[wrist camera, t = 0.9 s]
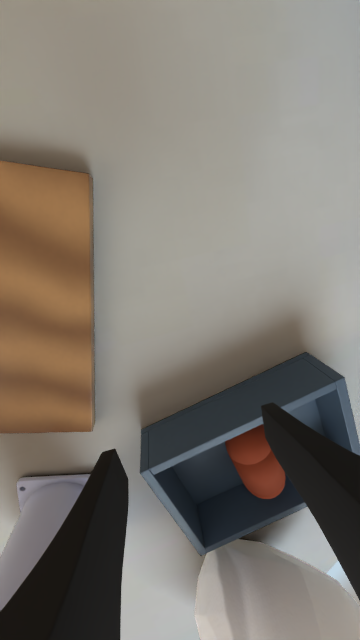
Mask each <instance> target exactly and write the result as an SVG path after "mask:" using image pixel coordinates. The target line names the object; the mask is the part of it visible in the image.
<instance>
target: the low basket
mask: <svg viewBox="0 0 360 640" xmlns="http://www.w3.org/2000/svg"><path fill="white" fill-rule="evenodd" d="M272 402H273V403H275V404H276V405H278V406H279V407H281V408H282V409H283V410H285V411H286V412H288V413H289V414H291V415H292V416H293V417H295V418H296V419H298V420H299V421H301V422H302V423H304V424H305V425H307V426H309V427H310V428H312V429H313V430H315V431H316V432H318V433H320V434H321V435H323V436H325V437H326V438H328V439H330V440H331V441H333V442H335V443H337V444H338V445H340V446H342V447H344V448H346V449H347V450H349V451H351V452H353V453H355V454H357V455H359V456H360V444H359V440H358V435H357V431H356V426H355V422H354V417H353V413H352V409H351V404H350V400H349V395H348V391H347V386H346V382H345V378H344V377H343V376H342V375H340V374H339V373H337V372H336V371H334V370H333V369H331V368H330V367H328V366H327V365H325V364H324V363H322V362H321V361H319V360H318V359H316V358H315V357H313V356H312V355H310V354H309V353H307V352H305V353H303V354H301V355H299V356H297V357H295V358H292V359H290V360H288V361H286V362H284V363H282V364H280V365H278V366H276V367H273V368H271V369H269V370H267V371H265V372H263V373H261V374H259V375H256V376H254V377H252V378H250V379H248V380H246V381H244V382H242V383H239V384H237V385H235V386H233V387H231V388H229V389H227V390H225V391H222V392H220V393H218V394H216V395H214V396H212V397H210V398H208V399H206V400H203V401H201V402H199V403H197V404H195V405H193V406H191V407H189V408H186V409H184V410H182V411H180V412H178V413H176V414H174V415H172V416H169V417H167V418H165V419H163V420H161V421H159V422H157V423H155V424H152V425H150V426H148V427H146V428H144V429H142V430H141V460H140V474H141V475H142V476H143V478H144V479H145V481H146V482H147V483H148V485H149V486H150V487H151V489H152V490H153V491H154V493H155V494H156V496H157V497H158V498H159V500H160V501H161V502H162V504H163V505H164V506H165V508H166V509H167V511H168V512H169V513H170V515H171V516H172V517H173V519H174V520H175V522H176V523H177V524H178V526H179V527H180V528H181V530H182V531H183V532H184V534H185V535H186V537H187V538H188V539H189V541H190V542H191V543H192V545H193V546H194V547H195V549H196V550H197V552H198V553H199V554H200V556H202V555H204V554H206V553H208V552H211V551H213V550H215V549H217V548H219V547H221V546H224V545H226V544H228V543H230V542H232V541H234V540H236V539H239V538H241V537H243V536H245V535H247V534H249V533H252V532H254V531H256V530H258V529H260V528H262V527H264V526H267V525H269V524H271V523H273V522H275V521H277V520H279V519H282V518H284V517H286V516H288V515H290V514H292V513H294V512H297V511H299V510H301V509H303V508H305V507H307V505H306V503H305V502H304V500H303V499H302V497H301V496H300V494H299V493H298V491H297V490H296V488H295V487H294V485H293V484H292V482H291V481H290V479H289V478H288V476H287V475H286V473H285V476H286V480H285V486H284V488H283V490H282V492H281V493H280V494H279V495H278V496H276V497H275V498H272V499H262V498H258V497H257V496H255V495H253V494H252V493H251V492H250V491H249V490H248V489H247V488H246V487H245V485H244V483H243V481H242V479H241V478H240V476H239V474H238V472H237V470H236V468H235V466H234V464H233V462H232V460H231V458H230V456H229V454H228V452H227V449H226V446H225V441H227V440H229V439H231V438H234V437H236V436H238V435H240V434H242V433H244V432H246V431H249V430H251V429H253V428H255V427H257V426H259V425H261V424H263V418H262V411H261V406H262V405H265V404H268V403H272Z"/></svg>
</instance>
